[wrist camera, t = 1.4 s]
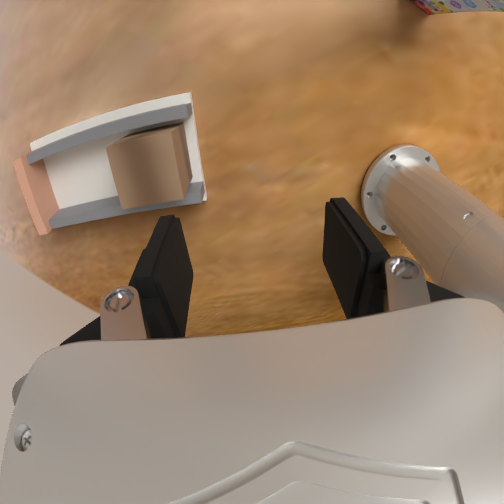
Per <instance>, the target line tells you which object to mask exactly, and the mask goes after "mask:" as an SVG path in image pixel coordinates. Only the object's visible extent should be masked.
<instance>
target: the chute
mask: <svg viewBox="0 0 504 504" xmlns="http://www.w3.org/2000/svg"><path fill="white" fill-rule="evenodd" d="M182 122H184V128H185V134H186V140H187V146H188V152H189V158H190V164H191V170H192V175H193V177H192V180H191V182H190V185H189V188H188V190H187V193H186V195H185V198H184V200H177V201H170V202H164V203H157V204H151V205H145V206H139V207H134V208H128V209H123V210H122V206H121V203H120V200H119V196H118V193H117V189H116V186H115V182H114V179H113V175H112V171H111V167H110V164H109V160H108V156H107V151H106V147H108V146H110V145H111V144H113V143H114V142H116V141H118V140H119V139H121V138H123V137H125V136H126V135H128V134H131V133H135V132H139V131H143V130H148V129H152V128H157V127H162V126H167V125H172V124H177V123H182ZM30 145H31V149H32V151H31V152H30V153H28V154H26V155H24V156H22V157H21V158H19V159H17V160H15V161H14V162H13V164H14V167H15V171H16V174H17V177H18V180H19V183H20V186H21V189H22V192H23V195H24V198H25V201H26V203H27V206H28V209H29V211H30V214H31V216H32V219H33V221H34V224H35V226H36V229H37V231H38V233H39V235H43V234H48V233H49V232H50V230H51V229H55V228H59V227H64V226H68V225H73V224H78V223H83V222H88V221H93V220H98V219H103V218H109V217H114V216H120V215H125V214H131V213H137V212H143V211H149V210H156V209H162V208H169V207H175V206H182V205H189V204H197V203H202V201H206V200H207V193H206V187H205V181H204V175H203V169H202V163H201V157H200V150H199V144H198V137H197V130H196V124H195V117H194V109H193V102H192V95H191V92H189V93H183V94H178V95H173V96H168V97H164V98H159V99H155V100H150V101H146V102H142V103H138V104H135V105H131V106H127V107H124V108H120V109H117V110H114V111H110V112H107V113H104V114H101V115H98V116H95V117H92V118H89V119H86V120H84V121H81V122H78V123H76V124H73V125H70V126H68V127H65V128H63V129H60V130H58V131H56V132H53V133H51V134H49V135H46V136H44V137H42V138H40V139H38V140H36V141H33V142H31V143H30Z"/></svg>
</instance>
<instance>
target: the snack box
mask: <svg viewBox="0 0 504 504" xmlns="http://www.w3.org/2000/svg"><path fill="white" fill-rule="evenodd" d="M410 1H412V2H413V3H414V4H416V5H417V6H418V7H420V8H421V9H422V10H424V11H425V12H426V13H427V14H428V15H432V14H440V13H452V12H468V11H498V12H504V0H410Z"/></svg>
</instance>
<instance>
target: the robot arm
mask: <svg viewBox="0 0 504 504" xmlns="http://www.w3.org/2000/svg"><path fill="white" fill-rule="evenodd" d="M361 204H362V208H363V212H364V214H365V216H366V218H367V220H368V221H369V222H370V224H371V225H372V226H373V227H374V228H375V229H376V230H378V231H379V232H381V233H384V234H387V235H393V236H397V237H398V238H399V239H400V240H401V241H402V243H403V244H404V245H405V246H406V247H407V249H408V250H409V251H410V252H411V254H412V255H413V256H414V257H415V259H416V260H417V261H418V262H419V264H420V265H421V266H422V267H421V266H420V265H419V264H418V263H417V262H416V261H414V260H413V259H410V258H408V257H403V256H395V257H390V255H389V254H388V252H387V251H386V250H385V248H384V247H383V246H382V244H381V243H380V242H379V240H378V239H377V238H376V236H375V235H374V234H373V232H372V231H371V230H370V229H369V227H368V226H367V225H366V224H365V223H364V221H363V220H362V219H361V218H360V216H359V215H358V214H357V213H356V211H355V210H354V209H353V208H352V206H351V205H350V204H349V203H348V202H347V200H346V199H345V198H331V199H330V202H326V206H325V226H324V243H323V262H324V265H325V267H326V270H327V272H328V274H329V277H330V279H331V281H332V284H333V286H334V288H335V291H336V293H337V296H338V298H339V301H340V303H341V305H342V308H343V310H344V313H345V315H346V318H347V319H344V320H338V321H332V322H326V323H319V324H312V325H305V326H298V327H291V328H283V329H275V330H266V331H257V332H247V333H236V334H225V335H213V336H199V337H185V331H186V323H187V316H188V309H189V302H190V295H191V288H192V282H193V269H192V265H191V262H190V258H189V254H188V250H187V246H186V242H185V238H184V234H183V230H182V226H181V222H180V219H179V218H175V216H174V215H168V216H161V217H160V218H159V220H158V223H157V225H156V227H155V229H154V231H153V234H152V236H151V238H150V240H149V243H148V245H147V247H146V249H144V250H143V251H142V254H141V256H140V258H139V261H138V263H137V265H136V268H135V270H134V272H133V275H132V277H131V280H130V282H129V285H128V286H121V287H117V288H115V289H113V290H111V291H110V292H108V293H107V294H106V295H105V296H104V298H103V299H102V301H101V305H100V316H99V317H98V318H97V319H95V320H94V321H92V322H91V323H89V324H88V325H86V326H85V327H84V328H82V329H81V330H79V331H78V332H76V333H75V334H74V335H72V336H71V337H69V338H68V339H66V340H65V341H64V342H63V343H61V344H60V346H59V347H56V348H53V349H51V350H49V351H47V352H45V353H44V354H42V355H41V356H40V357H39V358H38V359H37V360H36V361H35V363H34V364H33V366H32V367H31V369H30V371H29V373H28V374H26V375H25V376H23V377H22V378H20V379H19V380H18V381H17V382H16V384H15V385H14V388H13V391H12V396H13V401H14V405H15V408H14V411H13V414H12V418H11V421H10V425H9V430H8V434H7V438H6V443H5V448H4V454H3V460H2V466H1V476H0V504H504V219H503V218H502V217H501V216H499V215H498V214H497V213H496V212H495V211H493V210H492V209H491V208H490V207H488V206H487V205H486V204H484V203H483V202H482V201H480V200H479V199H478V198H476V197H475V196H474V195H472V194H471V193H470V192H468V191H467V190H465V189H464V188H462V187H461V186H460V185H458V184H457V183H455V182H454V181H452V180H451V179H449V178H448V177H446V176H445V175H443V174H441V172H440V169H439V166H438V164H437V162H436V160H435V159H434V158H433V156H432V155H431V154H430V153H428V152H427V151H426V150H424V149H422V148H420V147H418V146H415V145H410V144H402V145H397V146H394V147H392V148H389V149H388V150H386V151H385V152H383V153H382V154H381V155H380V156H379V157H378V158H376V159H375V161H374V162H373V163H372V165H371V166H370V167H369V169H368V171H367V173H366V175H365V178H364V181H363V184H362V190H361ZM422 268H423V269H424V270H425V271H426V273H427V274H428V275H429V277H430V278H431V279H432V281H433V282H434V284H433V283H430V282H428V281H426V280H425V276H424V272H423V269H422Z"/></svg>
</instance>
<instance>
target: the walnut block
mask: <svg viewBox="0 0 504 504" xmlns="http://www.w3.org/2000/svg"><path fill="white" fill-rule="evenodd" d="M106 151H107V156H108V160H109V164H110V167H111V171H112V175H113V179H114V182H115V186H116V189H117V193H118V196H119V200H120V203H121V206H122V210H123V209H128V208H134V207H139V206H145V205H151V204H157V203H164V202H170V201H177V200H184V198H185V195H186V193H187V190H188V188H189V185H190V182H191V180H192V177H193V175H192V170H191V164H190V158H189V152H188V146H187V140H186V134H185V128H184V122H182V123H177V124H172V125H167V126H162V127H157V128H152V129H148V130H143V131H139V132H135V133H131V134H128V135H126V136H125V137H123V138H121V139H119V140H118V141H116V142H114V143H113V144H111V145H110V146H108V147H106Z"/></svg>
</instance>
